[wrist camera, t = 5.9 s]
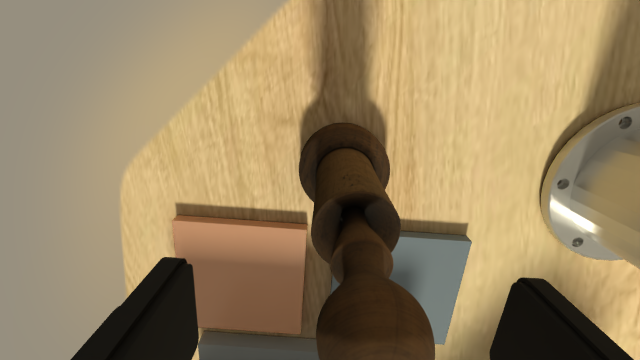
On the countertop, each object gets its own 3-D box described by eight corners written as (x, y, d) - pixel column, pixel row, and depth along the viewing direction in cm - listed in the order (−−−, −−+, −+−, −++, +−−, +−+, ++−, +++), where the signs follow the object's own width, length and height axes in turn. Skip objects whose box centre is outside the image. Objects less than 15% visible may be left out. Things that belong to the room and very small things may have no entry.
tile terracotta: (307, 224, 25) (306, 230, 24) (301, 325, 29) (300, 334, 28) (177, 215, 25) (171, 220, 24) (187, 317, 29) (183, 326, 28)
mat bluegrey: (466, 235, 25) (471, 241, 24) (440, 335, 29) (444, 344, 28) (336, 226, 25) (337, 232, 24) (327, 327, 29) (327, 336, 28)
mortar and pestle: (393, 129, 23) (595, 289, 6) (376, 206, 25) (484, 495, 8) (306, 116, 22) (240, 242, 5) (296, 195, 25) (226, 465, 8)
